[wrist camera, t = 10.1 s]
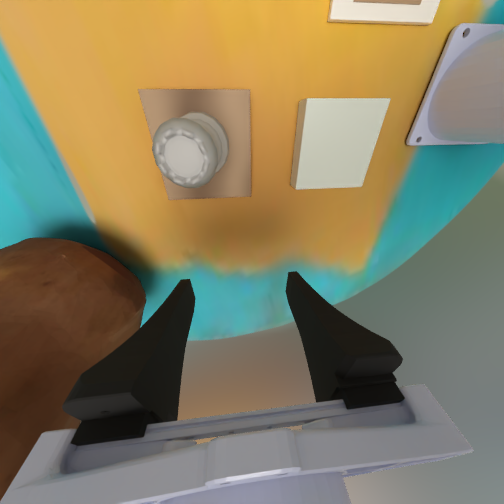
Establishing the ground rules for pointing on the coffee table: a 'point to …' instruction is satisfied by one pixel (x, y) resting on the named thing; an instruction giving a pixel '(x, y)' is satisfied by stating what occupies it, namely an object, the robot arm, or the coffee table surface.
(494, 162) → the coffee table surface
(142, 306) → the butternut squash
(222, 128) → the rook chess piece
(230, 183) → the walnut block
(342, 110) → the grey-green block
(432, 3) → the card
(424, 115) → the robot arm
